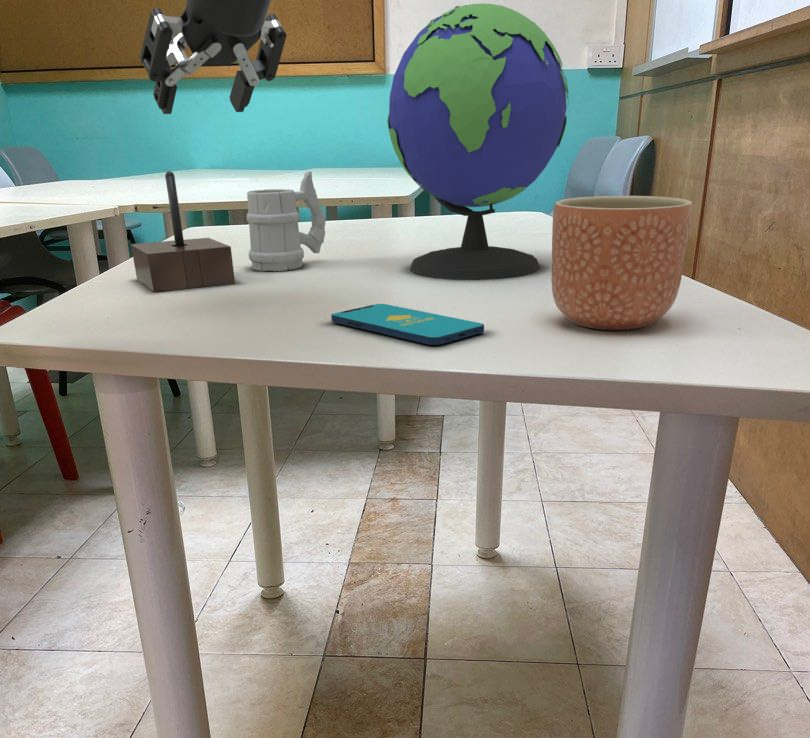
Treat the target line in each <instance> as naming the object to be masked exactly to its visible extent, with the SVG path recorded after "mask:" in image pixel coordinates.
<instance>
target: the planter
mask: <svg viewBox="0 0 810 738" xmlns="http://www.w3.org/2000/svg"><path fill="white" fill-rule="evenodd" d="M692 217H693V202H692V201H691V200H688V199H684V198H679V197H669V196H654V195H598V196H597V195H596V196H581V197H572V198H571V197H570V198H564V199H561V200H557V201H555V202H554V206H553V212H552V231H551V292H552V298H553V301H554V304H555V306H556V307H557V309H558V310H559V311H560V312H561V314H562V315H564V317H565V318H567V320H569V321H570V322H572V323H573V324H575V325H578V326H581V327H585V328H588V329H595V330H605V331H623V330H624V331H625V330H627V331H628V330H635V329H641V328H645V327H648V326H650V325H652V324H654V323H655V322H657V321H658V320H660V319H662V317H664V316H665V314H667V313H668V312H669V311H670V310H671V308H672V307H673V306H674V303H675V302H676V299H677V298H678V295H679V290H680V286H681V283H682V277H683V269H684V264H685V259H686V258H685V257H686V253H687V249H688V242H689V237H690V230H691V225H692Z"/></svg>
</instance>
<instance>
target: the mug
mask: <svg viewBox="0 0 810 738" xmlns="http://www.w3.org/2000/svg"><path fill="white" fill-rule="evenodd" d="M303 175H304V176H303V178H302V180H301V182H300V187H299V191H295V190H294V189H291V188H290V189H289V188H288V189H286V188H285V189H284V188H281V189H280V188H271V189H270V188H268V189H255V190H248V191H247V192H246V199H247V200H246V201H247V213H246V221H247V223H248V226H249V242H250V243H249V244H250V249H249V250H248V260H249V261H250V262H251V267H252V269H253V270H254V271H259V272H283V271H291V270H297V269H300V268H302V267H303V265H304V263H303V259H304V258H305V252H304V248H302V246H301V245H303V246H305V247H307V248H309V250H310V251H311V252H312V253H313V254H320V252H321V247H322V245H323V244H324V241H325V236H326V230H325V228H326V227H325V226H326V222H327V221H326V215H325V214H324V210H323V208H322V205H321V203H320V200H319V198H318V195H317V191H316V188H315V185H314V182H313V171H311V170H310V171H309V170H308V171H305V172H304V174H303ZM299 201H300V202H301V201H303V203H304V204H305V206H306V208H308V209H309V212H310V215H311V216H310V218H311V227H310V228H309V231H308V232H307V233H305V232H301V231H300V229H299V220H300V213H299V211H298V210H297V202H299Z"/></svg>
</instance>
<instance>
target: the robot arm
mask: <svg viewBox="0 0 810 738" xmlns="http://www.w3.org/2000/svg"><path fill="white" fill-rule="evenodd" d="M271 1H272V0H186V2H185V8H184V9H183V11H182V12H181V13H180V15H179V16H170V15H165V14H164V12H163V10H162V9H161V8H159V7H154V8H153V9H152V10H151V11H150V13H149V17H148V22H147V26H146V31H145V35H144V39H143V43H142V47H141V51H140V56H139V60H140V62H141V64H142V65H143V67H144V70H145V71H146V74H147V76H148V78H149V80H150V81H152V82H154V87H153V92H152V93H153V94H152V95H153V100H154V101H155V103H156V105H157V107H158V109H160V110H161V112H162V114H163V115H171V114H172V112H173V108H174V103H175V98H176V94H177V88H178V86H177V83H178V82H179V81H181V80H182V79H183V78H184V77H186V75H193V74H194V73H195V72H196V71H198V70H199V69H200V68H201V67H202V66H203V67H205V66H206V67H211V66H216V65H219V66H221V67H222V66H223V67H231V66H232V64H234V63H236V62H237V64H238V66H239V68H240V70H236V72H235V77H234V80H233V83H232V87H231V90H230V94H229V102H230V104H231V106H232V108H233V109H234V111H235V112H236V113H244V111H245V108H247V107H248V106H249V105H250V103H251V99H252V96H253V93H254V89H255V87H256V86H257V85H258V84H259V83H260V81H261V80H266V81H267V82H271V81H273V80H275V78H276V76H277V73H278V69H279V65H280V60H281V58H282V54H283V50H284V47H285V43H286V39H287V33H286V31H285V29H284V28H283V26H282V24H281V22H280V20H279V19H278V16H277V15H276V14H275V13H270V14H268V11H269V7H270V5H271ZM259 40H260V42H259ZM257 42H259V46H258V50H257V54H256V58H255V60H251V58H250V56H249V53H248V51H249V50H250V49H251V48H252V47H253V46H254V45H255V44H257ZM187 46H188V48H189V50H190V52H191V53H192V55H190V56H189V57H188V56H187V54H186V48H187ZM175 63H176V64H175ZM174 64H175V65H174ZM173 65H174V67H172V66H173Z"/></svg>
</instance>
